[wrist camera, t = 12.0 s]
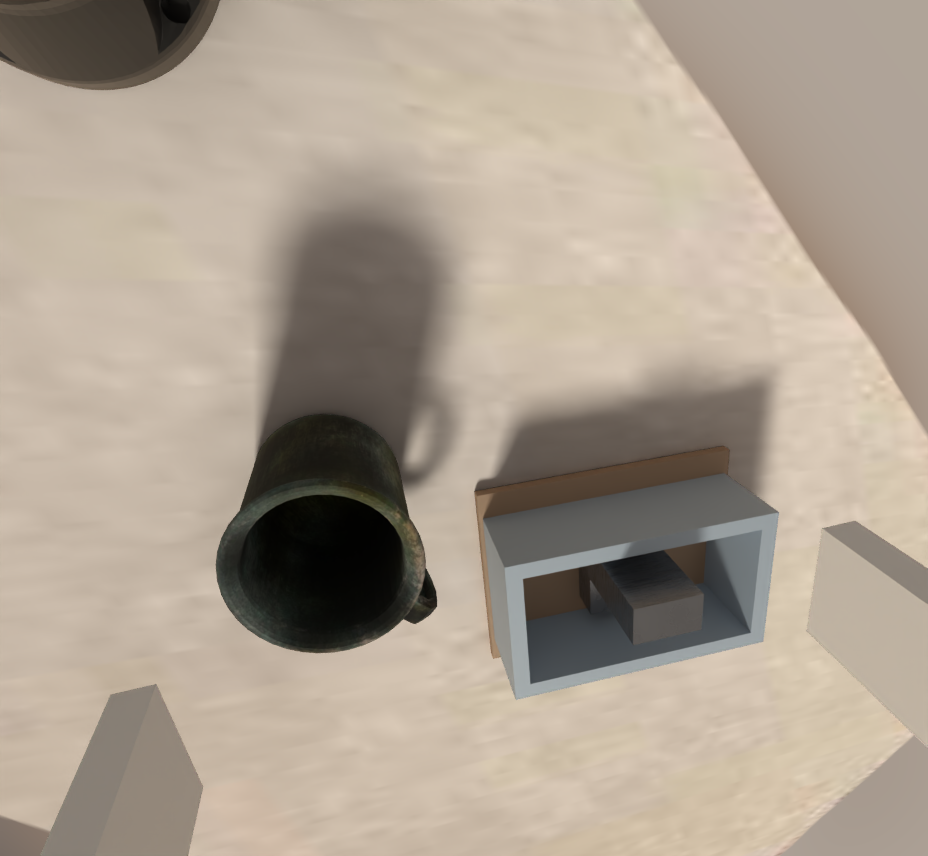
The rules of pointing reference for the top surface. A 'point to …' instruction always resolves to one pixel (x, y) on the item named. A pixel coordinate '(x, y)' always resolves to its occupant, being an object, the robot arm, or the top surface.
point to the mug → (324, 541)
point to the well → (610, 538)
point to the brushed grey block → (643, 596)
